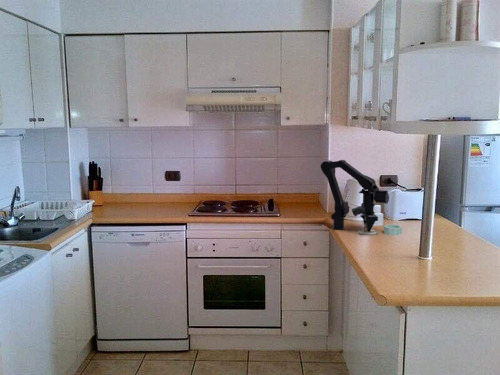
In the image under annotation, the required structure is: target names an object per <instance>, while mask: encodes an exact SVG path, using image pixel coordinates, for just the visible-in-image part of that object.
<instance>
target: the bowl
mask: <svg viewBox="0 0 500 375" xmlns="http://www.w3.org/2000/svg"><path fill="white" fill-rule="evenodd" d="M402 233H403V226H401V225H399V224H384V225H383V234H384V235H387V236H401V235H402Z"/></svg>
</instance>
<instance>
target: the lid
mask: <svg viewBox="0 0 500 375" xmlns="http://www.w3.org/2000/svg"><path fill="white" fill-rule="evenodd" d="M357 230H358V232H357V233H358V234H359V233H360V234H366V235H367V236H373V234H377V233H378V231H377V230H376V229H372V228H371V230H370V232H368V230H367V223H364V222H363V228H362V229H357ZM360 234H359V235H360ZM366 235H365V236H366Z"/></svg>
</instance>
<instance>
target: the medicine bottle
mask: <svg viewBox="0 0 500 375" xmlns="http://www.w3.org/2000/svg"><path fill="white" fill-rule="evenodd" d="M374 204H375V206H374V214H375V215H376V216H377V217H378V221H375V223H374V225H373V227H375V226H379V227H380V226H384V213H382V205H380V203H374Z"/></svg>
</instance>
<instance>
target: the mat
mask: <svg viewBox="0 0 500 375" xmlns="http://www.w3.org/2000/svg"><path fill="white" fill-rule="evenodd" d="M358 230H359V229H356V232H357V233H358ZM358 234H359V235H361V236H363V235H364V236H366V234H360V233H358ZM373 235H375V236H379V235H380V234H379V233H378V232H377V234H373ZM373 235H372V236H373Z"/></svg>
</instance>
